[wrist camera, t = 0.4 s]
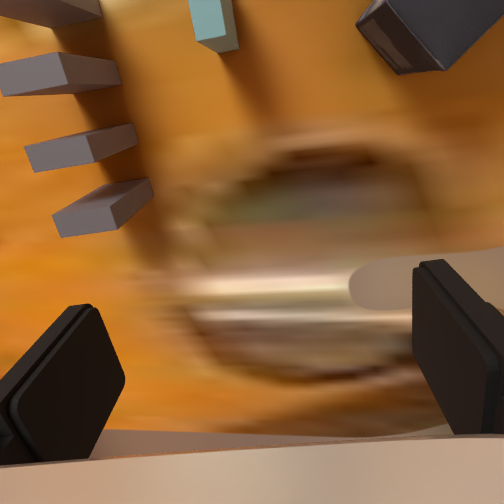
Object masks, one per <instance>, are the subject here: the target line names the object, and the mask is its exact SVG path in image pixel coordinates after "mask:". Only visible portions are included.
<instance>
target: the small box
mask: <svg viewBox="0 0 504 504" xmlns="http://www.w3.org/2000/svg"><path fill="white" fill-rule="evenodd" d="M503 16H504V0H374V1H373V2H372V3H371V5H370V6H369V7H368V8H367V9H366V11H365V12H364V13H363V15H362V16H361V17H360V19H359V20H358V21H357V22H356V27H357V28H358V30H359V31H360V32H361V33H362V34H363V36H364V37H365V38H366V39H367V40H368V41H369V42H370V44H371V45H372V46H373V47H374V48H375V49H376V51H377V52H378V53H379V54H380V55H381V56H382V58H383V59H384V60H385V61H386V62H387V63H388V64H389V66H390V67H391V68H392V69H393V70H394V71H395V73H396V74H397V75H404V74H411V73H419V72H427V71H447V70H448V69H449V68H450V67H451V66H452V65H453V64H454V63H455V62H456V61H457V60H458V59H459V58H460V57H461V56H462V55H464V54H465V53H466V52H467V51H468V50H469V49H470V48H471V47H472V46H473V45H474V44H475V43H476V42H477V41H478V40H479V39H480V38H481V37H482V36H483V35H484V34H485V33H486V32H487V31H488V30H489V29H490V28H491V27H492V26H493V25H494V24H495V23H497V22H498V21H499V20H500V19H501V18H502V17H503Z"/></svg>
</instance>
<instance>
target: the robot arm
mask: <svg viewBox="0 0 504 504" xmlns="http://www.w3.org/2000/svg"><path fill="white" fill-rule="evenodd" d="M412 278H413V279H412V285H413V286H412V288H413V290H412V348H413V353H414V357H415V359H416V361H417V363H418V365H419V367H420V369H421V371H422V373H423V375H424V377H425V379H426V381H427V383H428V384H429V386H430V388H431V390H432V392H433V394H434V396H435V398H436V400H437V402H438V404H439V406H440V408H441V410H442V412H443V414H444V416H445V418H446V420H447V421H448V423H449V425H450V427H451V429H452V431H453V433H454V435H427V436H411V437H395V438H376V439H361V440H346V441H330V442H314V443H299V444H285V445H269V446H255V447H240V448H226V449H212V450H198V451H184V452H172V453H171V452H170V453H156V454H142V455H129V456H116V457H104V458H90V459H88V458H89V456H90V454H91V452H92V450H93V448H94V446H95V444H96V442H97V440H98V438H99V436H100V434H101V432H102V430H103V428H104V426H105V424H106V422H107V420H108V418H109V416H110V414H111V412H112V410H113V408H114V406H115V404H116V402H117V400H118V398H119V396H120V394H121V392H122V390H123V388H124V385H125V375H124V372H123V369H122V367H121V364H120V362H119V359H118V357H117V355H116V352H115V350H114V347H113V345H112V342H111V340H110V337H109V335H108V332H107V330H106V327H105V325H104V322H103V320H102V317H101V315H100V313H99V311H98V309H97V308H95V307H94V308H93V306H92V305H91V304H81V305H73V306H69V307H68V308H67V309H66V310H65V311H64V312H63V313H62V314H61V315H60V316H59V317H58V318H57V319H56V320H55V322H54V323H53V324H52V325H51V326H50V327H49V328H48V329H47V330H46V331H45V332H44V333H43V335H42V336H41V337H40V338H39V339H38V340H37V341H36V342H35V343H34V344H33V345H32V346H31V347H30V349H29V350H28V351H27V352H26V353H25V354H24V355H23V356H22V357H21V358H20V359H19V360H18V362H17V363H16V364H15V365H14V366H13V367H12V368H11V369H10V370H9V371H8V372H7V373H6V375H5V376H4V377H3V378H2V379H1V380H0V504H504V316H503V315H502V314H501V313H500V312H499V311H498V310H497V309H496V308H495V307H494V306H493V305H491V304H490V303H488V302H485V301H484V300H483V299H482V298H481V297H480V296H479V295H478V294H477V293H476V292H475V291H474V290H473V289H472V288H471V287H470V286H469V285H468V284H467V283H466V282H465V281H464V279H462V277H461V276H460V275H459V274H458V273H457V272H456V271H455V270H454V269H453V268H452V267H451V266H450V265H449V264H448V263H447V262H446V261H445V260H444V259H439V260H431V261H423V262H420V264H419V267H417V268H414V269H413V277H412Z"/></svg>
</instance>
